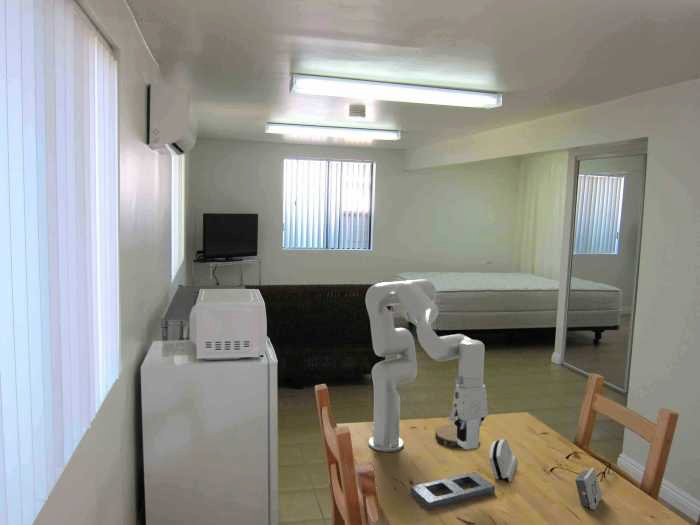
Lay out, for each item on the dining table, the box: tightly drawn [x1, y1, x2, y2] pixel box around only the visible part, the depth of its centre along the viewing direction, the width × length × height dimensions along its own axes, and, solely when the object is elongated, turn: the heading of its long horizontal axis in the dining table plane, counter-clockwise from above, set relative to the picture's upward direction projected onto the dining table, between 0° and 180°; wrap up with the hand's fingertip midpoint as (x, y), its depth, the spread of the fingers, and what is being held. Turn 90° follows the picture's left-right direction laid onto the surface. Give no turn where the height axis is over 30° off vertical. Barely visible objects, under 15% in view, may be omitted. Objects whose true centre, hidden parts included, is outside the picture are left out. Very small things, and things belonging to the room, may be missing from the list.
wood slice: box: [434, 423, 464, 449], centre depth 212 cm, size 16×16×3 cm
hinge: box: [488, 439, 518, 483], centre depth 189 cm, size 17×5×10 cm, turn 156°
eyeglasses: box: [549, 451, 612, 483], centre depth 188 cm, size 16×16×4 cm
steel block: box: [457, 418, 480, 450], centre depth 172 cm, size 4×4×10 cm
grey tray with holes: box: [410, 471, 496, 511], centre depth 172 cm, size 10×24×2 cm, turn 115°
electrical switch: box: [575, 467, 602, 511], centre depth 169 cm, size 9×5×9 cm, turn 143°
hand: (467, 437), depth 173 cm, fingers closed on steel block, 4 cm apart
